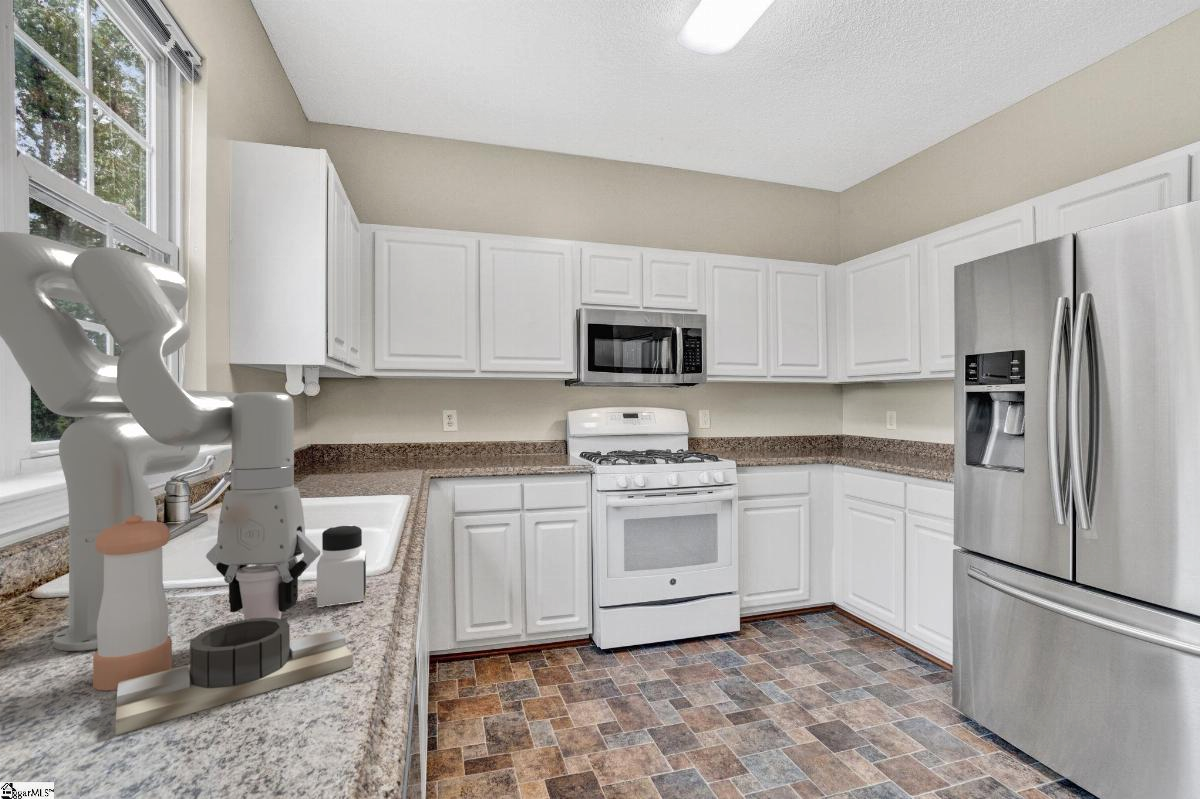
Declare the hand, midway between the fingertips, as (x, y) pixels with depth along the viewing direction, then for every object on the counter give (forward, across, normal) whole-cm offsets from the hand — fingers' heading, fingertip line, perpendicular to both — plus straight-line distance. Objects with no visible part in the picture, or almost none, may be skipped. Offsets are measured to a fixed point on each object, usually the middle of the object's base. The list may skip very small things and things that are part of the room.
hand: (263, 607), depth 78 cm
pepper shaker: (+4, -9, -11) cm, 15 cm away
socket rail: (+4, +5, -12) cm, 14 cm away
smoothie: (+4, 0, 0) cm, 4 cm away
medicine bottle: (+4, +4, +16) cm, 17 cm away
